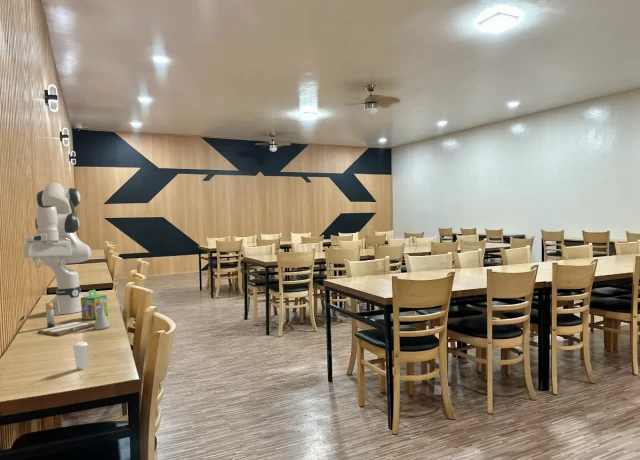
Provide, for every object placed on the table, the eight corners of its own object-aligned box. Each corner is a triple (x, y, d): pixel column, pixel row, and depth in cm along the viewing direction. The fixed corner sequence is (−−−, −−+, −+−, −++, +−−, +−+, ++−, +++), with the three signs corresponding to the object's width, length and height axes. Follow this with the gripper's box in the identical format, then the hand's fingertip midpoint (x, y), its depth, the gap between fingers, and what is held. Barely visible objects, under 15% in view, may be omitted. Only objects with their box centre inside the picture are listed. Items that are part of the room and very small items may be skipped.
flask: (113, 325, 211) (111, 305, 211) (104, 329, 204) (103, 308, 203) (99, 326, 212) (97, 306, 211) (90, 330, 204) (88, 309, 204)
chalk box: (95, 320, 226) (93, 291, 225) (81, 319, 229) (79, 291, 228) (108, 315, 235) (106, 288, 234) (95, 315, 237) (93, 288, 237)
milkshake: (70, 369, 150) (68, 341, 149) (87, 365, 153) (84, 337, 153) (74, 372, 146) (71, 343, 146) (91, 367, 150) (89, 339, 150)
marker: (46, 327, 214) (44, 303, 214) (52, 326, 217) (50, 302, 217) (49, 328, 213) (47, 304, 212) (56, 326, 216) (54, 302, 215)
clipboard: (37, 333, 204) (37, 329, 204) (76, 323, 221) (76, 319, 221) (59, 336, 196) (59, 331, 196) (97, 325, 213) (97, 321, 213)
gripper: (67, 238, 220) (69, 266, 219) (21, 238, 203) (22, 268, 202) (73, 237, 216) (75, 264, 215) (27, 237, 200) (28, 267, 198)
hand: (49, 266), depth 208 cm, fingers open, 8 cm apart
